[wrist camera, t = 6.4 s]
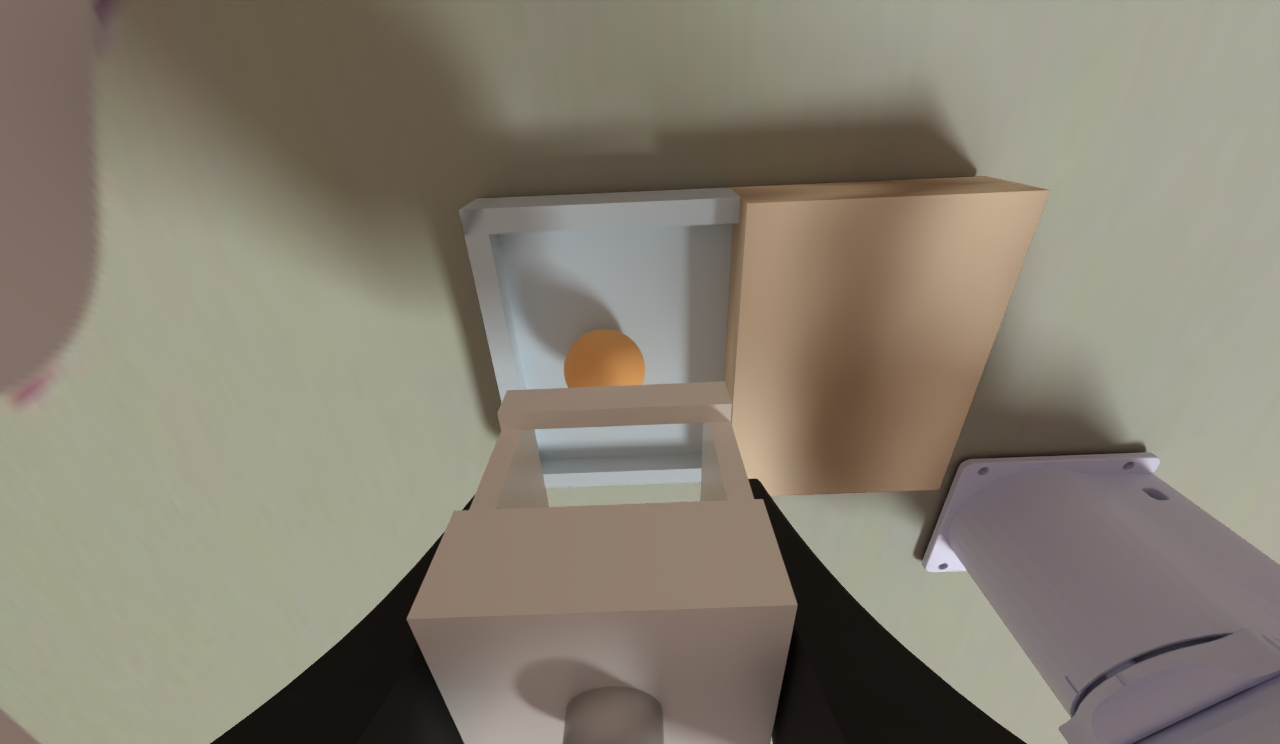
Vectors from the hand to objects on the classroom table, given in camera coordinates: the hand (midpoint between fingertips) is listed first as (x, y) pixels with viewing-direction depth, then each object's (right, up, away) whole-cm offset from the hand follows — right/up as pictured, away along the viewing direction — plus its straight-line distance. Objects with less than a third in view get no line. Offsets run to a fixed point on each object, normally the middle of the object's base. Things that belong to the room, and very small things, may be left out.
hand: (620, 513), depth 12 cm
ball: (-1, +4, +6) cm, 7 cm away
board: (+8, +5, +8) cm, 13 cm away
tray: (-1, +5, +8) cm, 9 cm away
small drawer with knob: (0, +1, +1) cm, 2 cm away
